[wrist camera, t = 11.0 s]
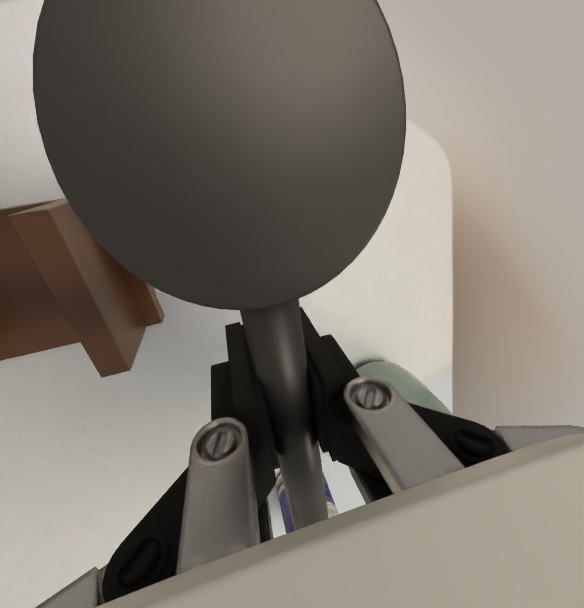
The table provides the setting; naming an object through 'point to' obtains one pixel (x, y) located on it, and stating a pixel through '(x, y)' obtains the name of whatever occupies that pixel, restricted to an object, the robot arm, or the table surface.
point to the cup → (404, 384)
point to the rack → (68, 290)
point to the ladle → (229, 163)
